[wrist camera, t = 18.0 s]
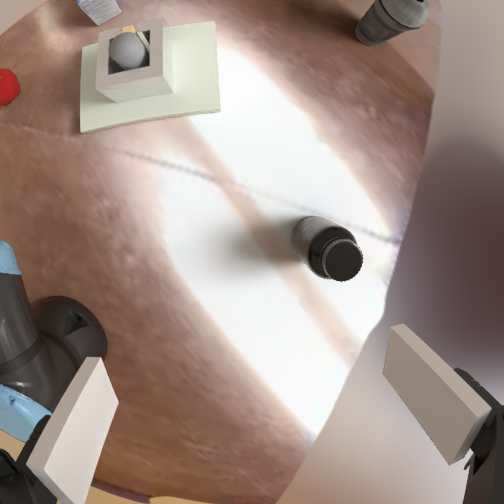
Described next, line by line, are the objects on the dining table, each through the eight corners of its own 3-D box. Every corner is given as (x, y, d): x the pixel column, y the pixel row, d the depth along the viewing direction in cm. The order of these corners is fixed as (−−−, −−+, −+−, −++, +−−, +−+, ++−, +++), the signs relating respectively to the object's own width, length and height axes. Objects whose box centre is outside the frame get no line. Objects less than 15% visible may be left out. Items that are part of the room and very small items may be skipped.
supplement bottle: (296, 266, 45) (320, 298, 34) (285, 222, 43) (308, 241, 32) (338, 253, 45) (374, 279, 34) (330, 210, 43) (366, 224, 32)
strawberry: (18, 117, 34) (-18, 111, 25) (0, 97, 33) (-35, 89, 23) (38, 87, 34) (4, 74, 24) (18, 69, 32) (-15, 55, 22)
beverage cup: (349, 49, 37) (418, -6, 18) (344, 13, 35) (403, -50, 16) (389, 57, 38) (467, 16, 19) (383, 22, 36) (451, -28, 17)
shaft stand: (215, 27, 35) (214, -16, 23) (220, 112, 38) (219, 89, 27) (87, 51, 33) (52, 22, 22) (86, 133, 37) (44, 124, 25)
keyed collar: (172, 43, 33) (163, 17, 26) (174, 93, 35) (163, 75, 28) (118, 53, 33) (98, 32, 25) (117, 103, 35) (95, 89, 27)
